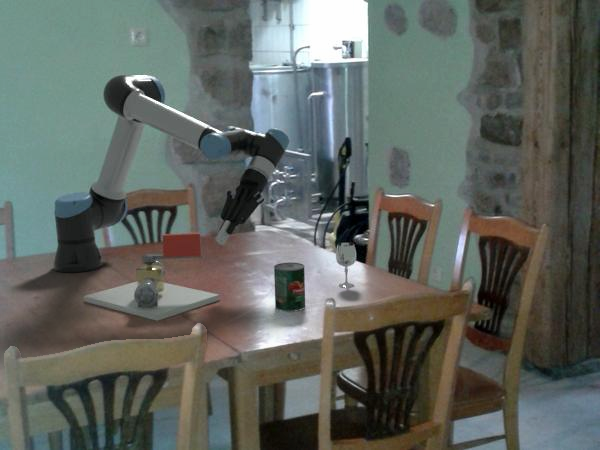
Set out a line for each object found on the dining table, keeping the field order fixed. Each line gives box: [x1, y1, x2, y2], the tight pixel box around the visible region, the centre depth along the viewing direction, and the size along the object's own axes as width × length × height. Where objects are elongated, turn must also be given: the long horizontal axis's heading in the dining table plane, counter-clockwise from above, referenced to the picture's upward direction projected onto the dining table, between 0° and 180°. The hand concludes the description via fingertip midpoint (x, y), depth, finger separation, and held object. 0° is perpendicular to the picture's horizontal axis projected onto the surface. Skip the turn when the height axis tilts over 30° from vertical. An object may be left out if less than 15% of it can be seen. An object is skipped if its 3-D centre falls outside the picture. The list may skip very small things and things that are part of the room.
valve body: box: [134, 260, 166, 307], centre depth 212 cm, size 26×7×9 cm, turn 6°
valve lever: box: [141, 232, 202, 265], centre depth 211 cm, size 16×4×7 cm, turn 96°
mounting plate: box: [83, 281, 220, 322], centre depth 213 cm, size 30×22×2 cm
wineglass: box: [335, 242, 357, 289], centre depth 222 cm, size 6×6×12 cm
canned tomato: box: [273, 261, 306, 312], centre depth 204 cm, size 8×8×11 cm
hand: (219, 242), depth 218 cm, fingers closed
